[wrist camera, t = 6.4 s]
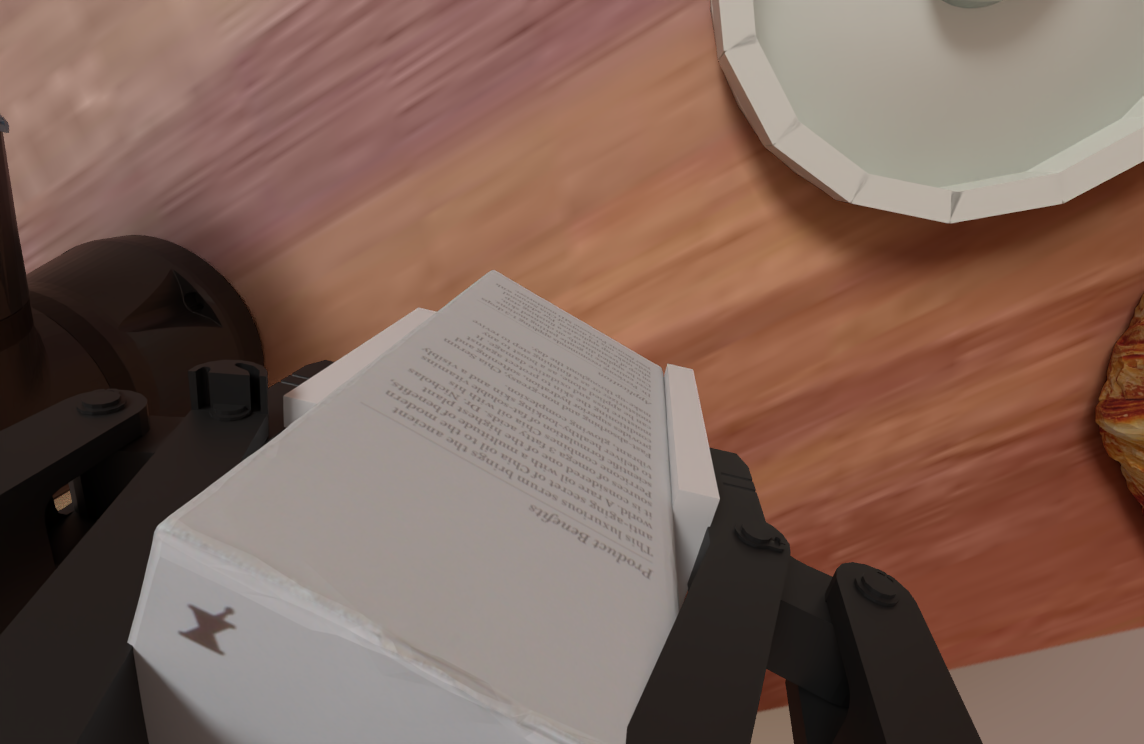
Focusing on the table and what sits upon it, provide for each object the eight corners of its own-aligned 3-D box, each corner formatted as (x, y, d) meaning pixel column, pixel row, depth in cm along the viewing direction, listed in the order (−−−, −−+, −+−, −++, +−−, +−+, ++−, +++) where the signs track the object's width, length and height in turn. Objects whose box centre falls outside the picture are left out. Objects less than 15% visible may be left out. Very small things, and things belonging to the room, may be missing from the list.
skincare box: (436, 379, 17) (69, 760, 6) (493, 264, 16) (133, 512, 5) (599, 470, 18) (516, 974, 7) (671, 368, 16) (714, 813, 5)
